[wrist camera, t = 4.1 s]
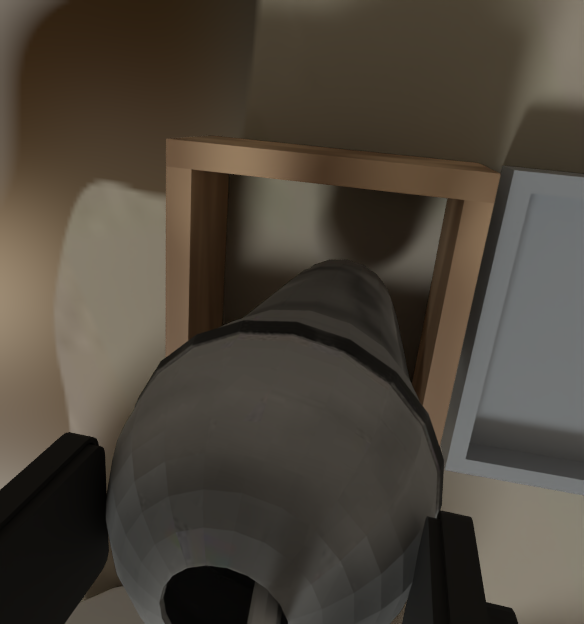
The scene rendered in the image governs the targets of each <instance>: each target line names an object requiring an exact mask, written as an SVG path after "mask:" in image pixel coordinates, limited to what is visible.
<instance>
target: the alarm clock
mask: <svg viewBox="0 0 584 624" xmlns="http://www.w3.org/2000/svg"><path fill="white" fill-rule="evenodd" d="M65 624H145V623H144V621H143V620H142V619H141V618H140V616H139V614H138V612H137V610H136V609H135V607H134V605H133V603H132V601H131V599H130V598H129V596H128V594H127V592H126V590H125V588H124V587H123V586H121V587H116V588H112V589H110V590H108V591H105V592H103V593H101V594H98V595H96V596H94V597H92V598H89V599H87V600H85V601H82V602H80V603H79V604H78V606H77V607H76V608H75V610H74V611H73V613H72V614H71V616H70V617H69V618H68V620H67V621H66V623H65Z"/></svg>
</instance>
